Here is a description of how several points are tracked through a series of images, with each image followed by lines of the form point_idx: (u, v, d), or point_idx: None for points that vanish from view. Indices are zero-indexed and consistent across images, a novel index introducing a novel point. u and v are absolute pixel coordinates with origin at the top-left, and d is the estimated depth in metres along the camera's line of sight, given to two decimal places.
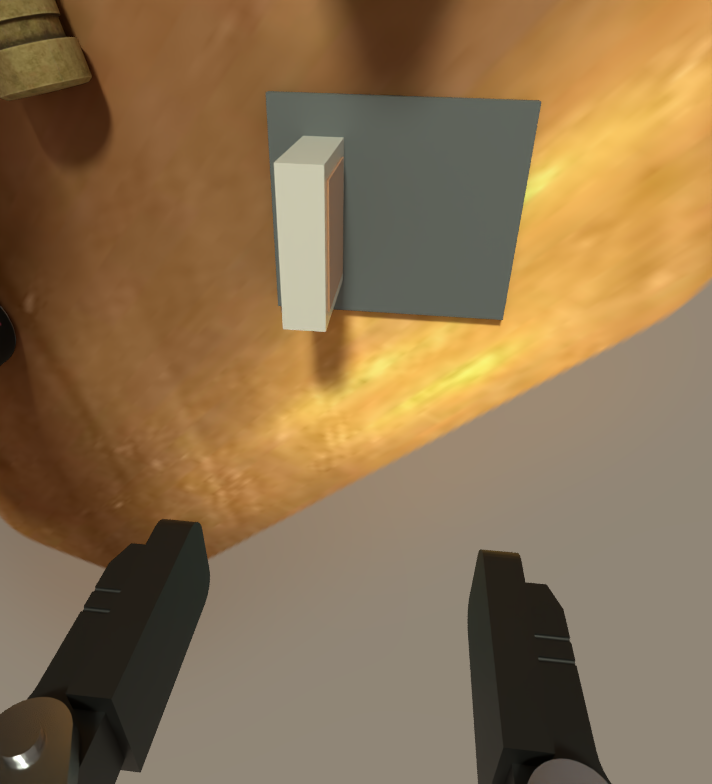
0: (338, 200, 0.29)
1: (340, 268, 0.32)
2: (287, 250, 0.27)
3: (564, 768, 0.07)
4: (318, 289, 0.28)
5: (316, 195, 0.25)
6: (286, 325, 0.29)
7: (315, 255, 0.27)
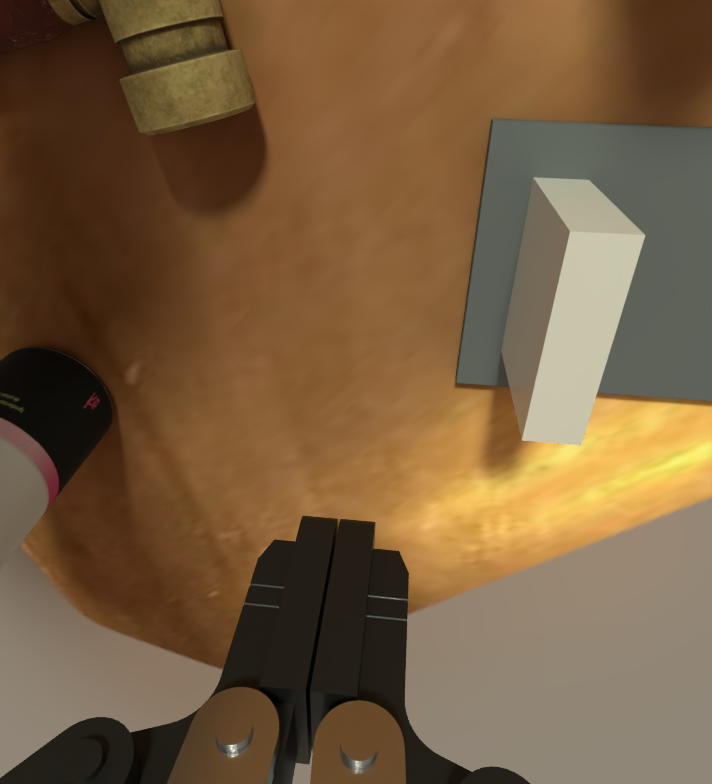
0: None
1: None
2: (556, 345, 0.19)
3: (358, 708, 0.08)
4: (586, 394, 0.20)
5: (621, 275, 0.18)
6: (528, 436, 0.21)
7: (595, 352, 0.19)
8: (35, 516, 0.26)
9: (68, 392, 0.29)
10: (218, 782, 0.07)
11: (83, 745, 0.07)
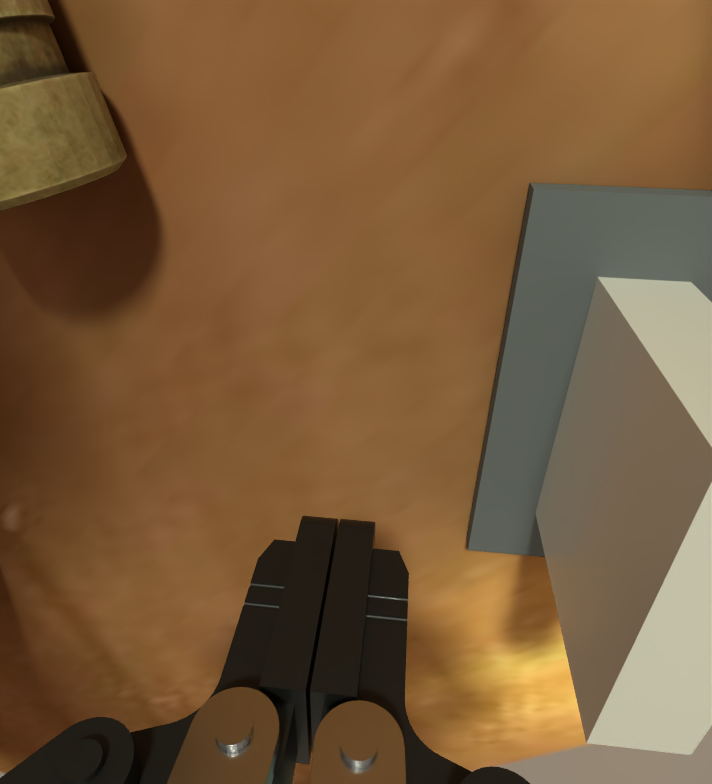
0: None
1: None
2: (666, 630, 0.10)
3: (358, 708, 0.08)
4: None
5: None
6: (598, 739, 0.12)
7: None
8: None
9: None
10: (217, 782, 0.07)
11: (83, 745, 0.07)
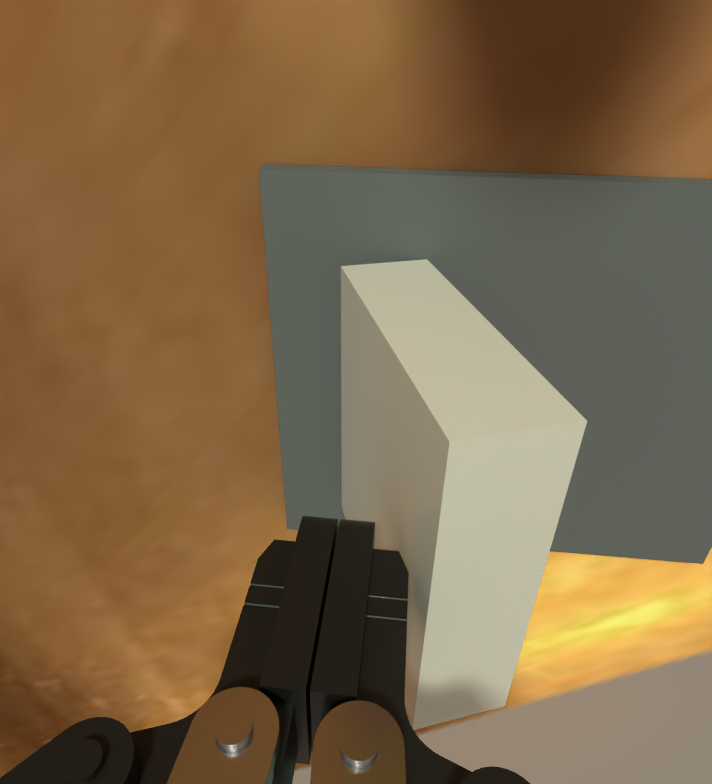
0: None
1: None
2: (449, 607, 0.10)
3: (359, 708, 0.08)
4: (506, 650, 0.12)
5: (548, 489, 0.09)
6: (421, 723, 0.12)
7: (515, 599, 0.11)
8: None
9: None
10: (217, 783, 0.07)
11: (83, 745, 0.07)
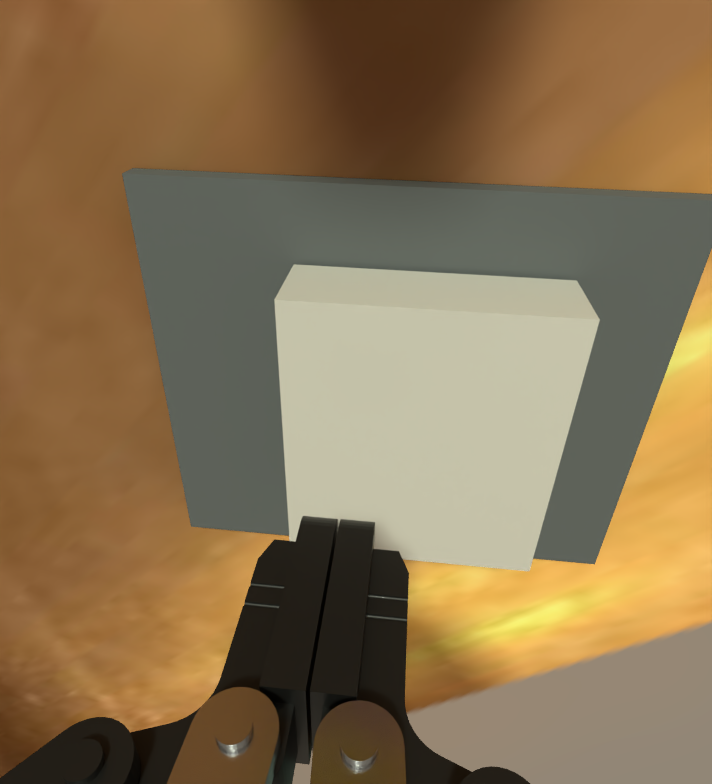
0: None
1: None
2: None
3: (358, 708, 0.08)
4: None
5: None
6: (529, 560, 0.16)
7: None
8: None
9: None
10: (218, 781, 0.07)
11: (83, 745, 0.07)
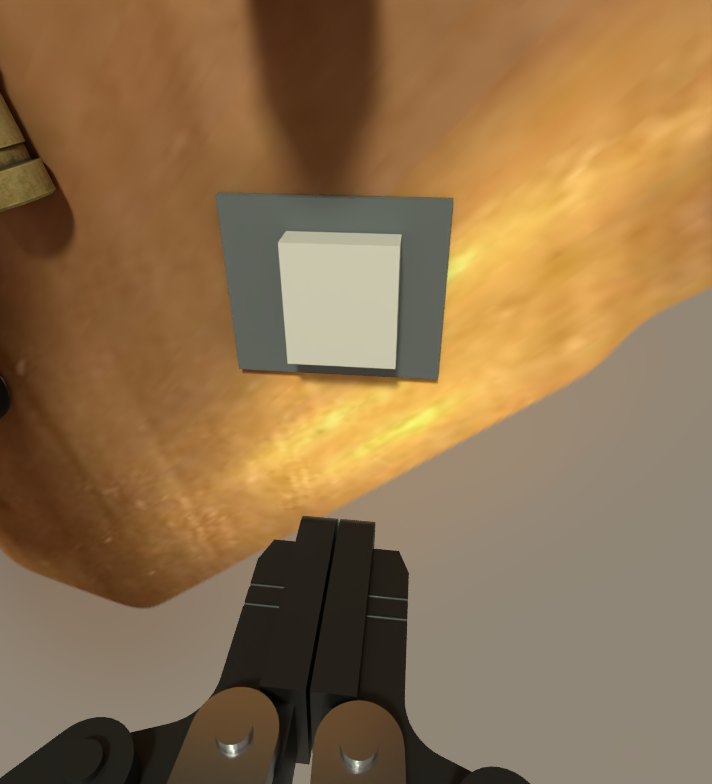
0: None
1: None
2: None
3: (358, 708, 0.08)
4: None
5: (400, 257, 0.34)
6: (395, 364, 0.36)
7: None
8: None
9: None
10: (217, 783, 0.07)
11: (83, 745, 0.07)
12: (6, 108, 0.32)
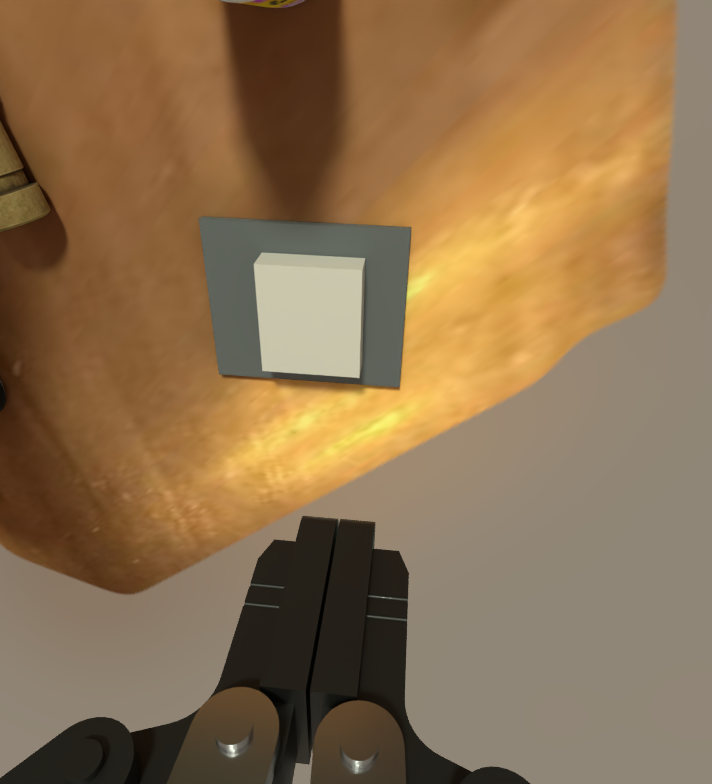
0: None
1: None
2: (361, 322, 0.38)
3: (358, 708, 0.08)
4: (362, 337, 0.41)
5: (364, 278, 0.38)
6: (359, 373, 0.40)
7: (363, 316, 0.40)
8: None
9: None
10: (217, 783, 0.07)
11: (83, 746, 0.07)
12: (7, 139, 0.35)
